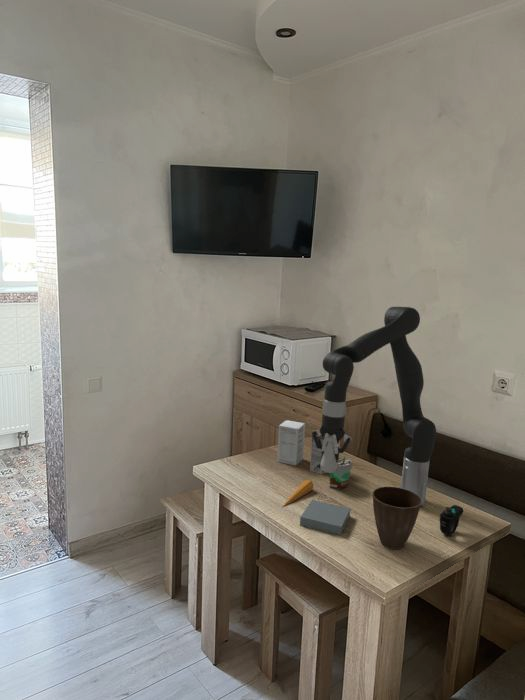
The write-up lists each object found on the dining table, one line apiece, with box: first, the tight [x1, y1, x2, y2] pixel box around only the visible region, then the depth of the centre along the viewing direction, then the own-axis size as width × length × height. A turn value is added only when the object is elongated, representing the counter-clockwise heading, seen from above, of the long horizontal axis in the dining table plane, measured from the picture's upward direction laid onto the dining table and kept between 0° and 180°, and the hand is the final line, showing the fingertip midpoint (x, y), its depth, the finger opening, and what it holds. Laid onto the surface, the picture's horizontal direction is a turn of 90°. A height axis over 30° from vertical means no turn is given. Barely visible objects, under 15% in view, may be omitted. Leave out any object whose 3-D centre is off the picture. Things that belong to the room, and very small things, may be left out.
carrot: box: [282, 479, 314, 507], centre depth 191 cm, size 20×4×4 cm, turn 145°
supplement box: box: [276, 419, 306, 466], centre depth 225 cm, size 10×9×17 cm
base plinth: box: [299, 499, 351, 536], centre depth 175 cm, size 14×14×3 cm
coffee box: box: [309, 433, 326, 475], centre depth 217 cm, size 9×6×16 cm
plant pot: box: [372, 486, 421, 550], centre depth 162 cm, size 15×15×16 cm
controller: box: [439, 504, 464, 536], centre depth 171 cm, size 4×12×10 cm, turn 137°
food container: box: [329, 456, 353, 490], centre depth 202 cm, size 12×6×10 cm, turn 143°
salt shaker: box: [321, 435, 338, 474], centre depth 171 cm, size 6×6×13 cm
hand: (329, 461), depth 172 cm, fingers closed on salt shaker, 3 cm apart
